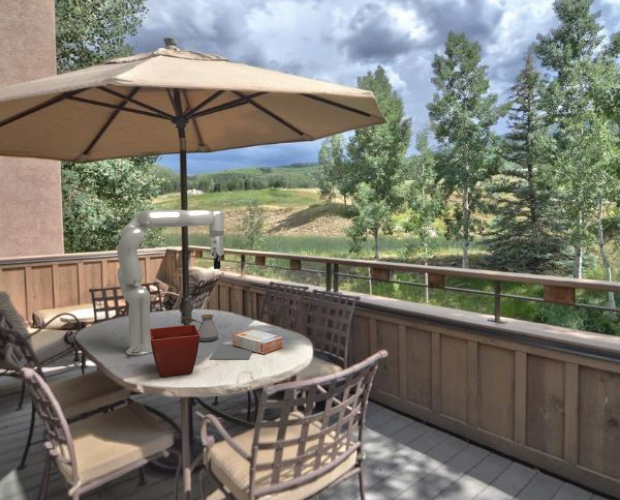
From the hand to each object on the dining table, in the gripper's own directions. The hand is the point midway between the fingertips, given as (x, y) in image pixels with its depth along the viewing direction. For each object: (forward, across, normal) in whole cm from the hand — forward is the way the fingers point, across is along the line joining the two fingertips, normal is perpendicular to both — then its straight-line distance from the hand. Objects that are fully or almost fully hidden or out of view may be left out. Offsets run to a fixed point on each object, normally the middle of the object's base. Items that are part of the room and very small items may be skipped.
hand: (217, 268), depth 233 cm
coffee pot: (+37, -8, +8) cm, 39 cm away
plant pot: (+37, -50, +7) cm, 63 cm away
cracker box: (+33, -12, -15) cm, 38 cm away
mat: (+37, -25, -13) cm, 47 cm away
